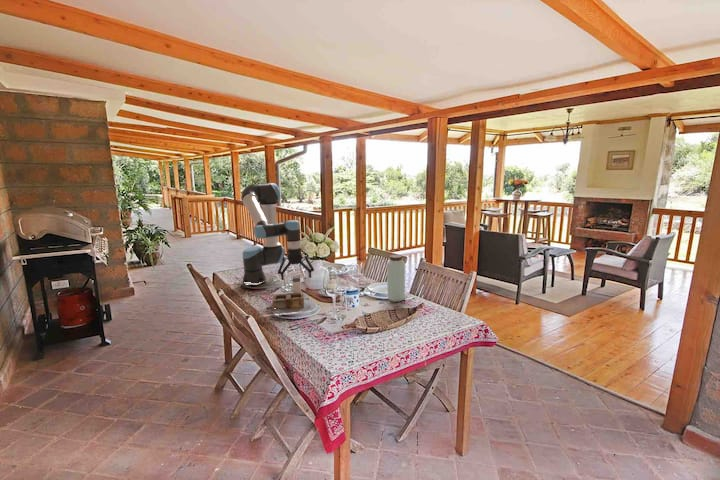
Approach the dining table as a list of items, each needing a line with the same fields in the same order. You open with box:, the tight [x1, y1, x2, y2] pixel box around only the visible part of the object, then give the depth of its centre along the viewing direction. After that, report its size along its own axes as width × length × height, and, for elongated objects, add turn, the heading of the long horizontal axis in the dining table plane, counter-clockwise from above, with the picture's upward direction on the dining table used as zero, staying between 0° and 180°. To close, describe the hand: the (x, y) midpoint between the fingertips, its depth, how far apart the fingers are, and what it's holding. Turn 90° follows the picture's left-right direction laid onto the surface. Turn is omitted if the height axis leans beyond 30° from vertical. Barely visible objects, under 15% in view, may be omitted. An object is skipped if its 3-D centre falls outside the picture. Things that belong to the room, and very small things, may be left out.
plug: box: [292, 275, 302, 293], centre depth 203 cm, size 4×4×12 cm
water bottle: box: [386, 254, 406, 302], centre depth 198 cm, size 10×10×25 cm
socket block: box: [272, 291, 305, 310], centre depth 193 cm, size 10×16×6 cm, turn 99°
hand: (297, 284), depth 203 cm, fingers open, 13 cm apart
